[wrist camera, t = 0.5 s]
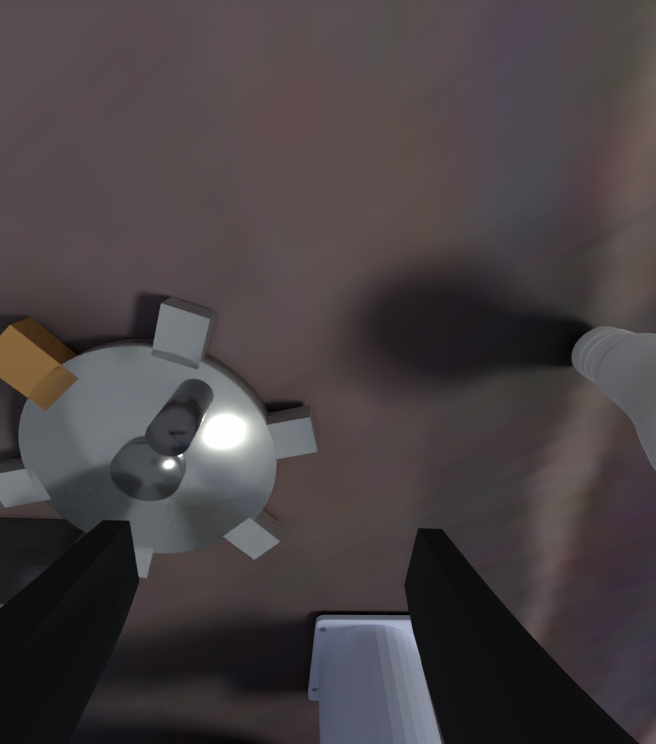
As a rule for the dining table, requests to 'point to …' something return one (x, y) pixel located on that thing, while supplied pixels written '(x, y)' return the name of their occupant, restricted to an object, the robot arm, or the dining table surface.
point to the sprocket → (148, 437)
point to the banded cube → (31, 550)
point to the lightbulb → (623, 375)
